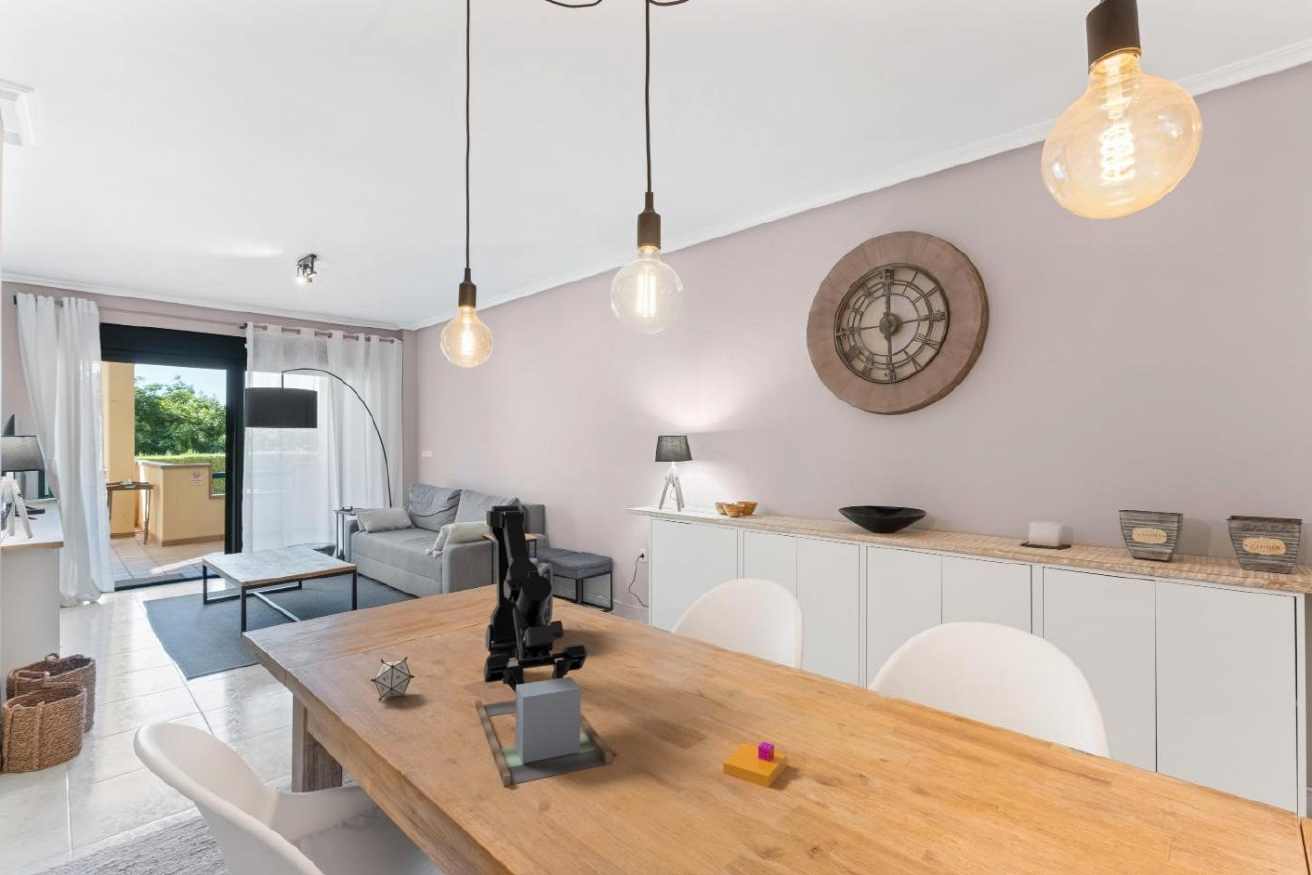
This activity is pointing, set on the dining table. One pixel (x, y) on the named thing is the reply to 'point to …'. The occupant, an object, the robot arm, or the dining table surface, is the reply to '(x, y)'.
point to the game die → (392, 678)
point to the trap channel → (519, 772)
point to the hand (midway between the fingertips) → (543, 706)
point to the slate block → (547, 719)
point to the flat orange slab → (756, 764)
